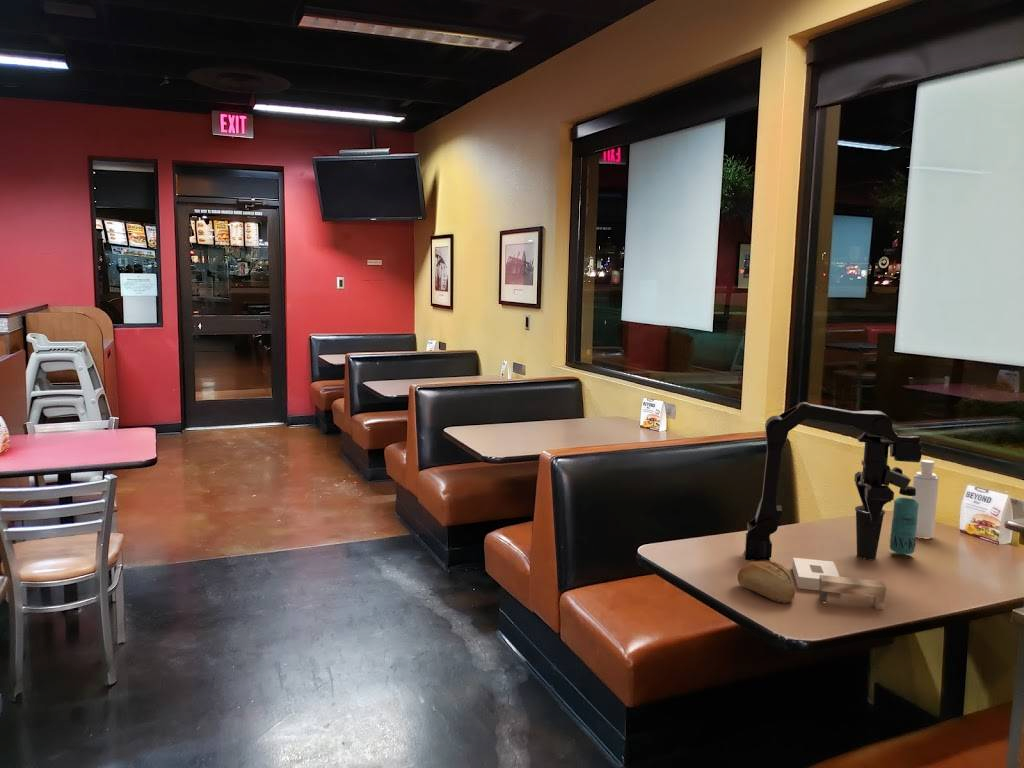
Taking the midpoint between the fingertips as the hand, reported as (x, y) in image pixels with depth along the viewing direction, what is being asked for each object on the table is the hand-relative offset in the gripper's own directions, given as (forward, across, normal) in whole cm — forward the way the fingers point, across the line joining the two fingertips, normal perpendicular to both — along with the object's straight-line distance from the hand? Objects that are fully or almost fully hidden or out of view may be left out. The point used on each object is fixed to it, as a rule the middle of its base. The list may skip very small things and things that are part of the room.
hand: (870, 516), depth 202 cm
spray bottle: (+15, +36, -22) cm, 44 cm away
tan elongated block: (+15, -25, +8) cm, 30 cm away
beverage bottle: (+15, +15, -12) cm, 24 cm away
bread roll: (+15, -25, +28) cm, 40 cm away
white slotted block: (+15, -12, +14) cm, 24 cm away
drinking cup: (+15, +11, -2) cm, 18 cm away
